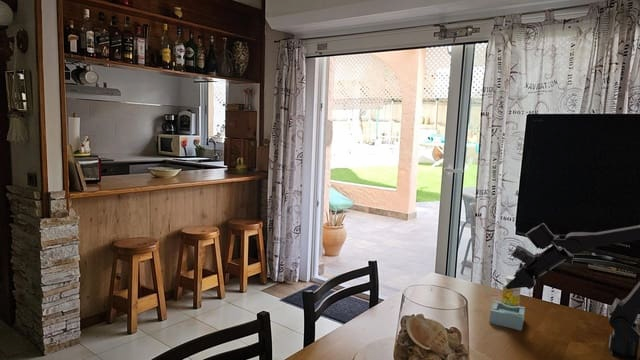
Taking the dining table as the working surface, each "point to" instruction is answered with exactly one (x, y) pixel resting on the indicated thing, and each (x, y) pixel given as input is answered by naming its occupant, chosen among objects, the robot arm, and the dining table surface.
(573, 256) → the robot arm
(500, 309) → the teal tray
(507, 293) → the supplement bottle
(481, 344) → the dining table surface
